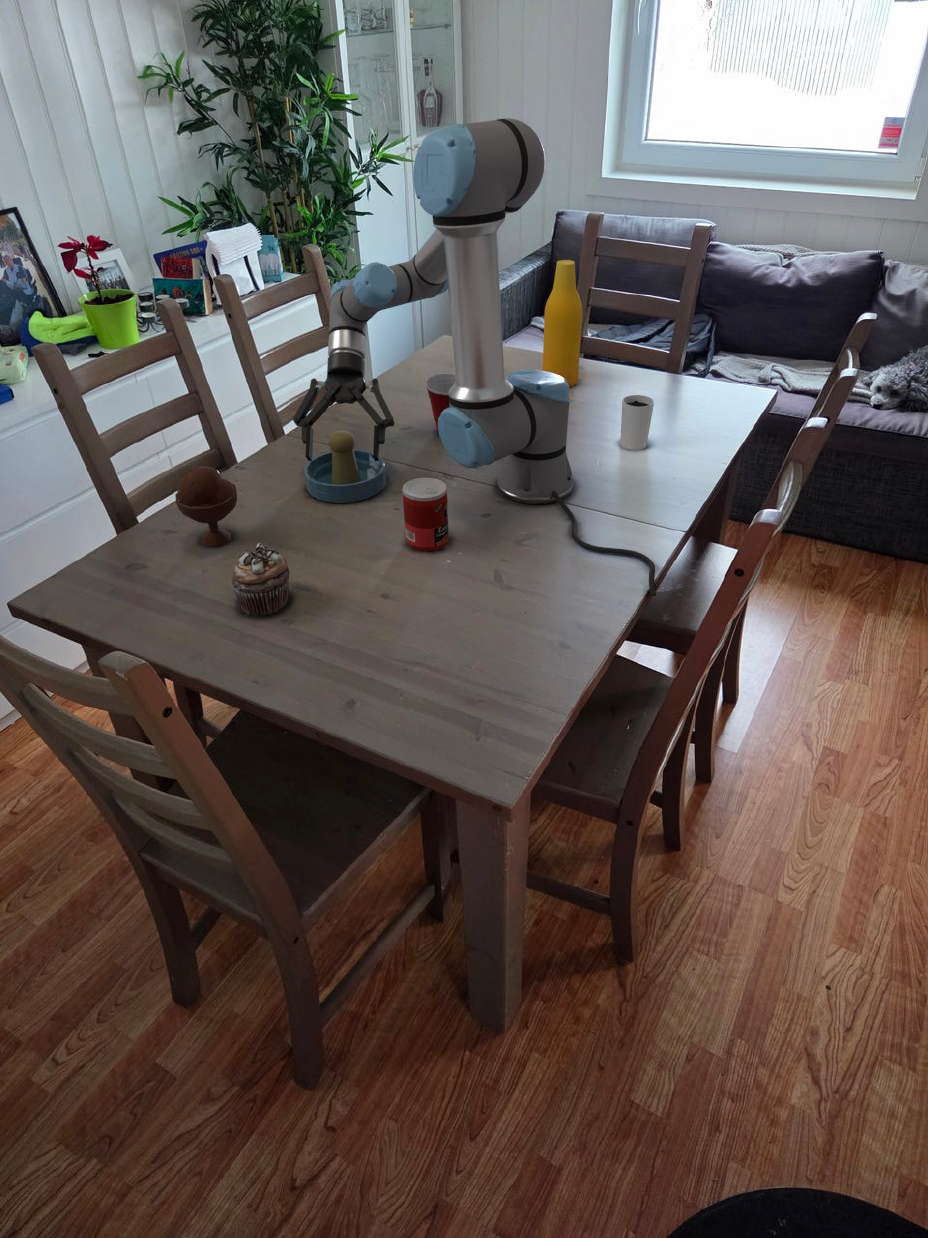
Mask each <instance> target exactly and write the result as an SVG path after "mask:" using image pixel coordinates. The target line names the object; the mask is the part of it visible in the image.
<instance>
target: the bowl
mask: <svg viewBox="0 0 928 1238" xmlns="http://www.w3.org/2000/svg"><path fill="white" fill-rule="evenodd" d="M353 451H354V455H355V459H356V463H357V467H358V471H359V475H360V479H361V482H357V483H353V484H343V485H335V484H332V451H328V452H324V453H322V454H319V455H317V456H315V457H312V461H308V462H307V463H306V464H305V466H304V468H303V471H304V479H305V480H304V481H305V487H306V491H307V492H308V493H309V495H310V496H311V497H313V498H316V499H317V500H319V501H323V502H326V503H327V502H328V503H337V504H346V503H355V502H359V501H363V500H367V499H370V498H372V497H374V496H376V495H378V494H379V493H380V492H381V491H382V490H384V488H385V487H386V485H387V472H386V471H387V470H386V463H385V460H384V459H383V458H382V457H381V456H380V455H379V461H375V460H374V457H373V451H369V450H364V449H356V448H355V449H354V448H353Z"/></svg>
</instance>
